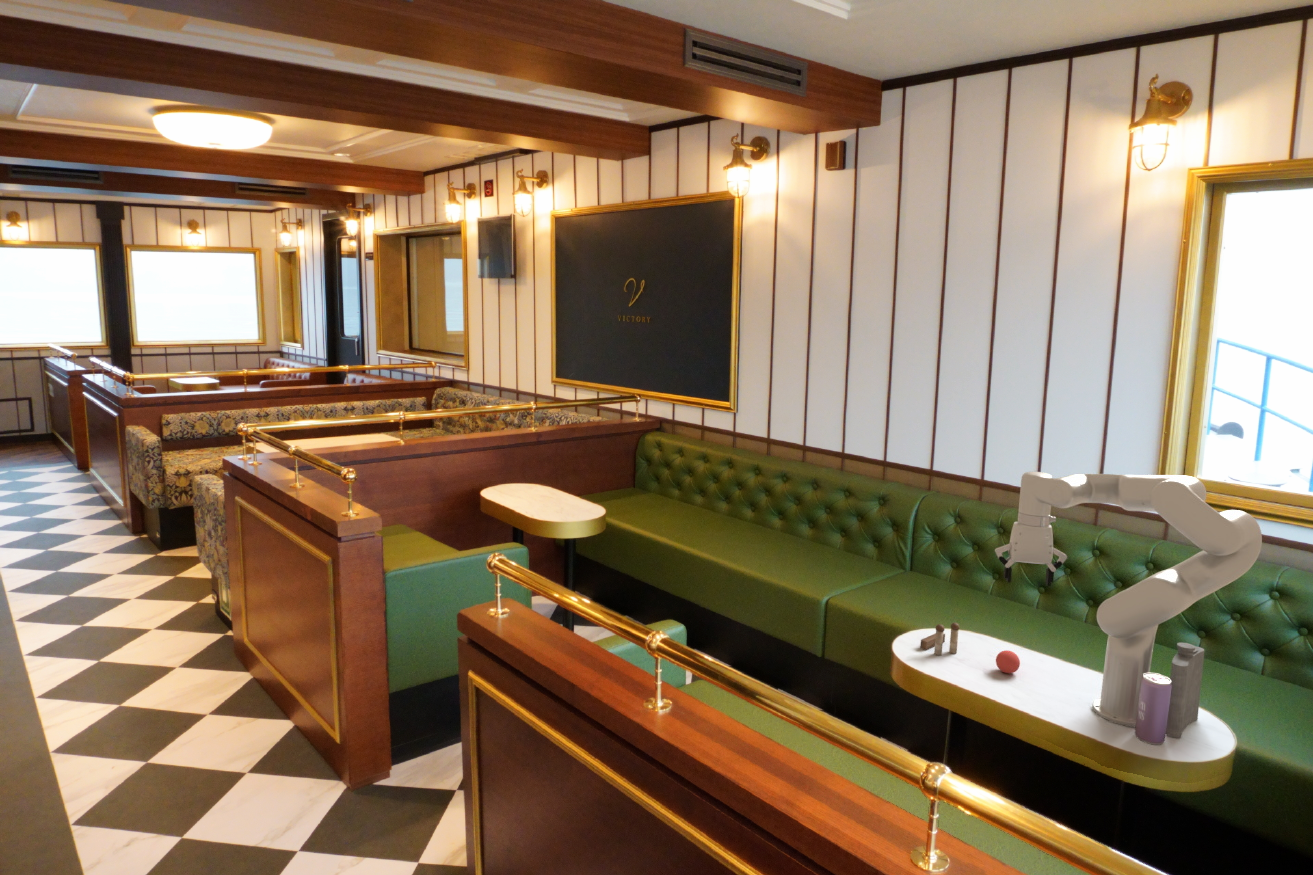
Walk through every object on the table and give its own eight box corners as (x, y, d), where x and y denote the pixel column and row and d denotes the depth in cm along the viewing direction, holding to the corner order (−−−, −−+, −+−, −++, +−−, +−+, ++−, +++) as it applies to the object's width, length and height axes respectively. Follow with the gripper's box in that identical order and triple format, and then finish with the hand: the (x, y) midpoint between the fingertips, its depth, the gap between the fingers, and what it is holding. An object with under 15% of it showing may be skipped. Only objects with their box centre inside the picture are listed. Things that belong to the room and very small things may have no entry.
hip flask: (1178, 739, 187) (1186, 656, 185) (1158, 732, 190) (1166, 651, 188) (1199, 717, 198) (1207, 638, 195) (1180, 711, 201) (1187, 633, 198)
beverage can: (1170, 746, 185) (1178, 684, 182) (1143, 745, 185) (1151, 683, 182) (1154, 732, 191) (1162, 672, 188) (1129, 731, 191) (1136, 671, 188)
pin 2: (956, 651, 234) (959, 621, 232) (957, 654, 231) (960, 624, 230) (948, 650, 234) (950, 620, 233) (948, 653, 232) (951, 623, 231)
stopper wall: (944, 641, 240) (945, 633, 240) (926, 650, 234) (927, 641, 234) (938, 639, 242) (939, 631, 241) (920, 647, 236) (920, 639, 235)
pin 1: (942, 652, 232) (944, 623, 231) (942, 656, 230) (945, 626, 229) (933, 651, 233) (935, 622, 232) (933, 655, 231) (936, 625, 229)
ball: (1016, 668, 223) (1018, 648, 222) (1020, 678, 217) (1022, 657, 216) (993, 666, 224) (995, 645, 223) (996, 675, 219) (998, 654, 218)
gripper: (1066, 518, 213) (1060, 581, 215) (995, 513, 217) (990, 575, 220) (1073, 526, 205) (1067, 590, 208) (1000, 520, 210) (994, 584, 212)
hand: (1027, 582), depth 214 cm, fingers open, 9 cm apart
